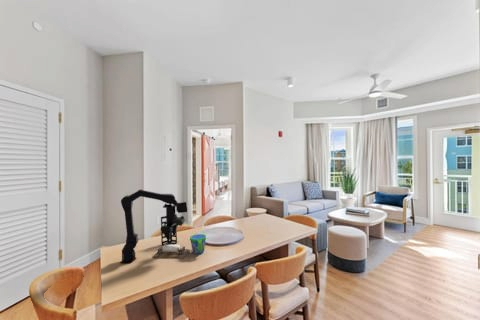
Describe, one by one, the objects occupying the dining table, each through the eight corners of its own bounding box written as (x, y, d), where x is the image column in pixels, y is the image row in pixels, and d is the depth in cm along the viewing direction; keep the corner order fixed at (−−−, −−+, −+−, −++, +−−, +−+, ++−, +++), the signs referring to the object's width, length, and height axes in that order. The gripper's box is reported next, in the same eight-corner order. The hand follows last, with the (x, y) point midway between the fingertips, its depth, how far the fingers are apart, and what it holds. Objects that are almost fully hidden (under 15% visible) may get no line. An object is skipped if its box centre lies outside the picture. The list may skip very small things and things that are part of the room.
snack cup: (190, 248, 148) (189, 233, 148) (205, 246, 150) (205, 232, 150) (190, 258, 133) (190, 241, 133) (207, 255, 135) (207, 239, 135)
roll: (162, 253, 137) (162, 246, 137) (165, 250, 142) (165, 243, 142) (177, 253, 137) (177, 246, 137) (179, 250, 141) (179, 243, 141)
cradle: (152, 257, 134) (152, 251, 134) (160, 250, 145) (160, 244, 145) (183, 258, 133) (183, 251, 133) (189, 250, 144) (189, 244, 144)
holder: (161, 246, 151) (160, 217, 153) (160, 243, 158) (160, 216, 160) (177, 244, 155) (176, 216, 158) (176, 241, 162) (176, 214, 164)
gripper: (177, 217, 129) (178, 243, 129) (187, 210, 148) (188, 232, 148) (159, 217, 130) (160, 243, 130) (171, 210, 149) (172, 233, 149)
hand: (171, 237), depth 139 cm, fingers open, 9 cm apart
